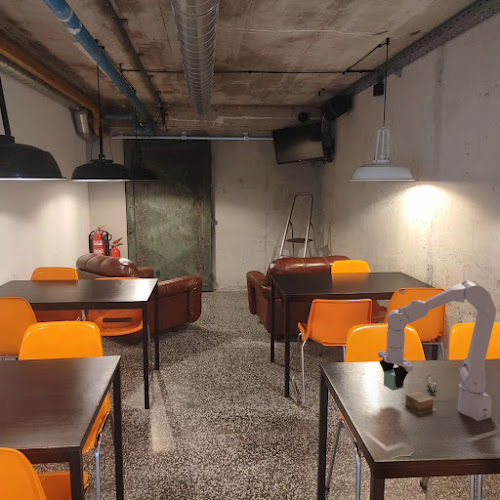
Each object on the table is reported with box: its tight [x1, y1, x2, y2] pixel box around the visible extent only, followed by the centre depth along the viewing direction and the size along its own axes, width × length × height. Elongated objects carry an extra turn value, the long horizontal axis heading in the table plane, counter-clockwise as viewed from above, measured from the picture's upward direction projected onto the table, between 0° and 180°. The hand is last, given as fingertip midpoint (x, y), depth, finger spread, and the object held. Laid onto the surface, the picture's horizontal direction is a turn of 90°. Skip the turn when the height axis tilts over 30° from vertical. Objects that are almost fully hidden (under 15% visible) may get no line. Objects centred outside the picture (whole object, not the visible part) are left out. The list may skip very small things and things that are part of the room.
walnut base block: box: [405, 391, 434, 412], centre depth 143 cm, size 6×6×4 cm
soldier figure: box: [425, 372, 438, 393], centre depth 159 cm, size 8×5×12 cm
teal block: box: [383, 369, 405, 391], centre depth 146 cm, size 5×5×5 cm
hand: (393, 383), depth 146 cm, fingers closed on teal block, 5 cm apart
